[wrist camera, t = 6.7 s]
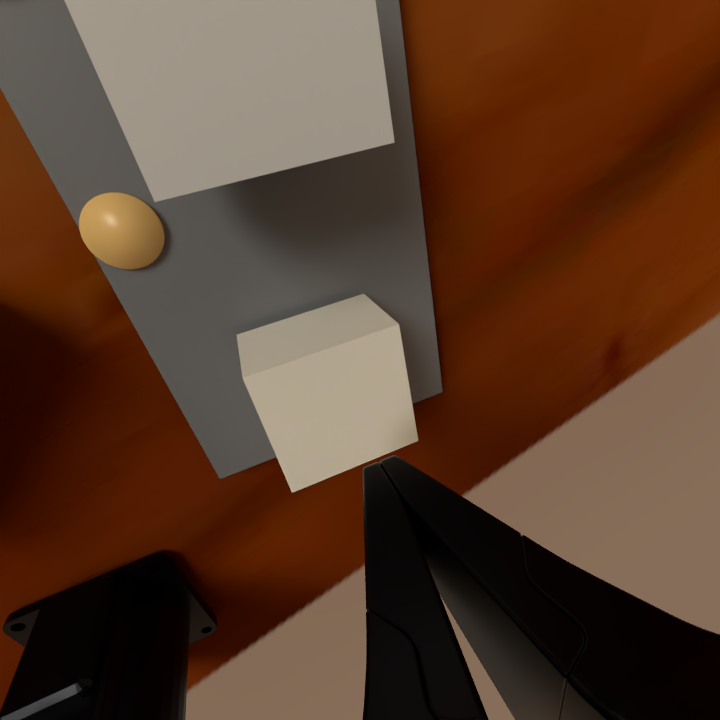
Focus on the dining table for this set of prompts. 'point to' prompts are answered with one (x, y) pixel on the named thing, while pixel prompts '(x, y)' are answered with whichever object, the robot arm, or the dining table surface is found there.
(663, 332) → the dining table surface
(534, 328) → the dining table surface
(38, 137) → the keypad base
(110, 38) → the key grey
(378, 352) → the key cream
